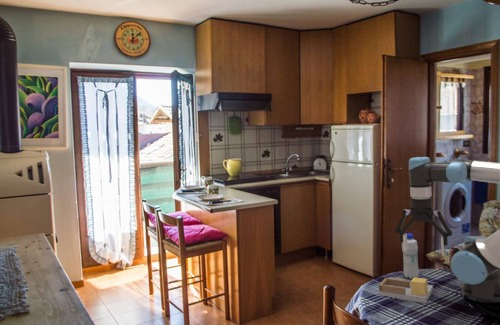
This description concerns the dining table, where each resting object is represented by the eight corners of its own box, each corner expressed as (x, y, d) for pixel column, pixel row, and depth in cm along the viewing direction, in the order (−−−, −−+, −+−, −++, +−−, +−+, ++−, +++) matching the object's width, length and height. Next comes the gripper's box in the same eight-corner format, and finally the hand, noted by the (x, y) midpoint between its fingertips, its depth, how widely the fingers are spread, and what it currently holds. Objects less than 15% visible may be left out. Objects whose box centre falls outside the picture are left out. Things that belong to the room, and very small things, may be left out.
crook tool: (409, 283, 166) (408, 279, 166) (406, 286, 163) (406, 282, 163) (389, 280, 170) (389, 277, 170) (387, 283, 167) (386, 279, 167)
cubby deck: (433, 290, 161) (432, 279, 161) (426, 303, 150) (425, 291, 150) (388, 284, 172) (387, 274, 172) (378, 295, 160) (377, 284, 160)
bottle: (400, 276, 180) (397, 232, 179) (412, 274, 182) (410, 230, 181) (410, 281, 173) (407, 235, 172) (423, 278, 175) (420, 233, 174)
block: (427, 291, 156) (427, 278, 156) (425, 295, 152) (424, 283, 152) (414, 289, 159) (413, 277, 159) (411, 293, 155) (410, 281, 154)
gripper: (458, 196, 148) (461, 252, 149) (390, 195, 162) (393, 246, 163) (455, 199, 142) (459, 258, 143) (385, 198, 156) (388, 251, 157)
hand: (424, 252), depth 153 cm, fingers open, 13 cm apart
